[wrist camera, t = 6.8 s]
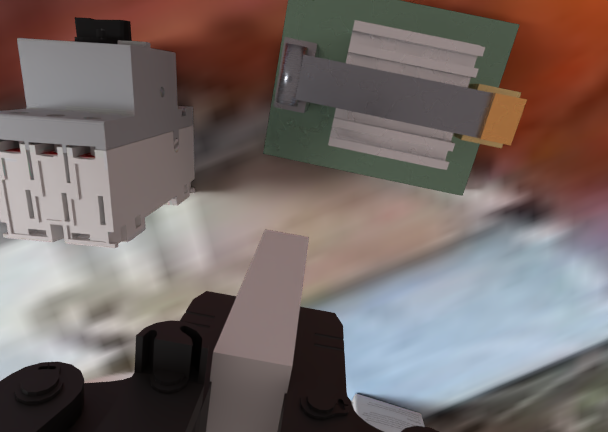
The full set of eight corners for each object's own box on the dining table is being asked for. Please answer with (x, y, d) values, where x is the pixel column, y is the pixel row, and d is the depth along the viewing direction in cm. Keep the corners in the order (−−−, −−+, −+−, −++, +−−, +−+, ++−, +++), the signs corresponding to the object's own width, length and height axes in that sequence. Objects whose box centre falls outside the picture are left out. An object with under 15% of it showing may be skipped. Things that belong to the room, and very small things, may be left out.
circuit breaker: (191, 34, 36) (93, 4, 22) (195, 192, 40) (115, 251, 26) (108, 29, 36) (-41, -4, 22) (121, 186, 41) (4, 241, 27)
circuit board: (267, 150, 38) (250, 164, 32) (294, -16, 34) (282, -41, 27) (456, 190, 38) (481, 213, 31) (509, 27, 34) (552, 14, 27)
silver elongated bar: (278, 101, 31) (272, 102, 29) (288, 44, 29) (282, 41, 27) (499, 148, 29) (508, 152, 27) (519, 91, 28) (530, 91, 26)
